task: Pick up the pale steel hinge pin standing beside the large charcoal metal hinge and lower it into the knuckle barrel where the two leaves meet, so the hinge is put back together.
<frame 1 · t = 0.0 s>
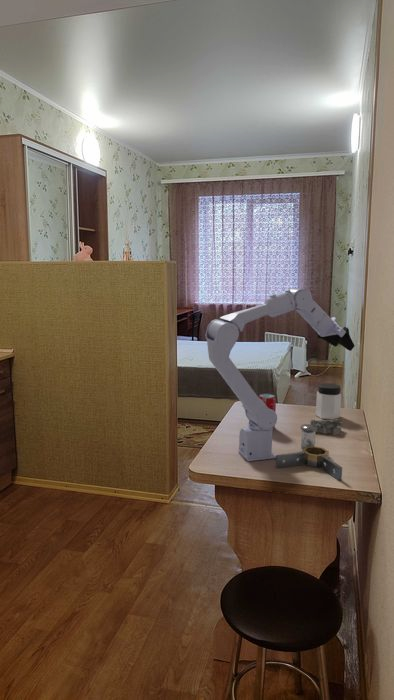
hand: (344, 346, 154), 32 cm above the table, tool tilted 50°, fingers open, 7 cm apart
soda can: (265, 428, 176), on the table
egg carton: (325, 431, 174), on the table
jar: (327, 416, 190), on the table
pin: (307, 448, 157), on the table
hinge: (314, 462, 146), on the table
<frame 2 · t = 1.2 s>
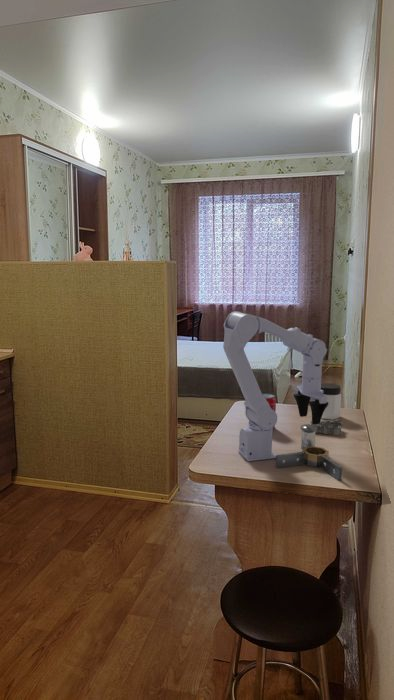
hand: (309, 419, 155), 9 cm above the table, tool pointing down, fingers open, 7 cm apart
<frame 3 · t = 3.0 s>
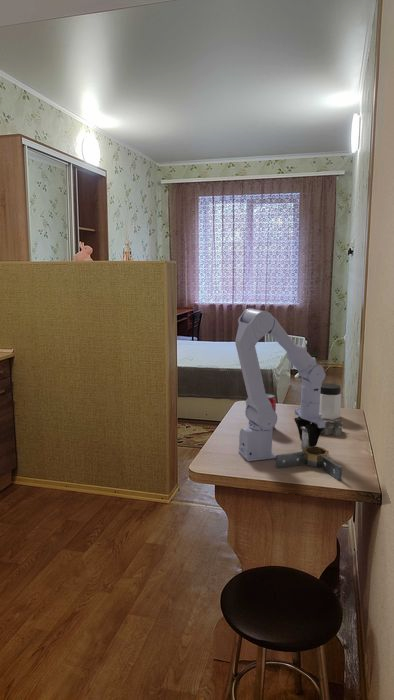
hand: (308, 443, 156), 2 cm above the table, tool pointing down, fingers closed on pin, 5 cm apart
pin: (307, 448, 157), on the table, touching gripper
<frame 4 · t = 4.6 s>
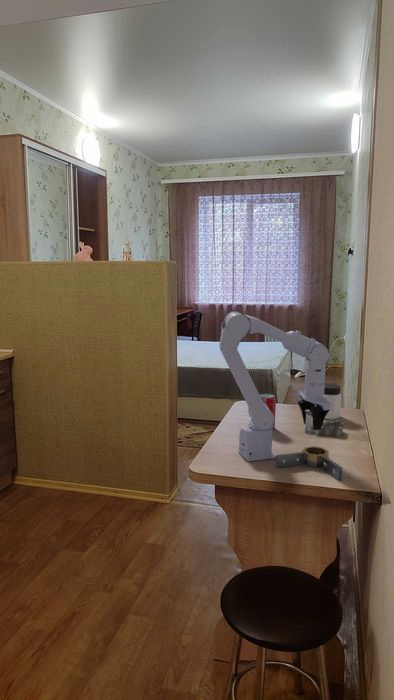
hand: (312, 426, 150), 9 cm above the table, tool pointing down, fingers closed on pin, 5 cm apart
pin: (311, 432, 151), point 7 cm above the table, touching gripper
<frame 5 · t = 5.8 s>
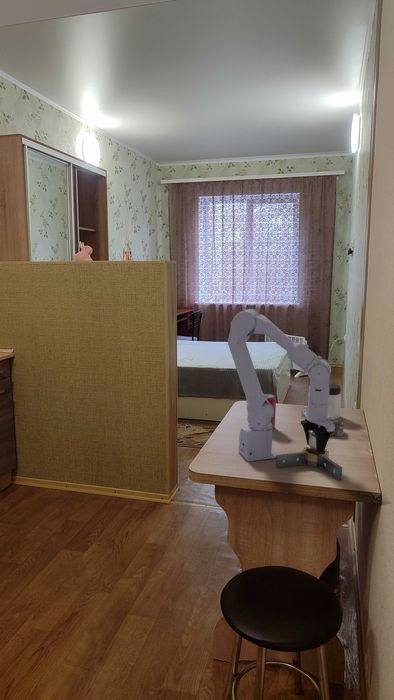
hand: (315, 447, 145), 5 cm above the table, tool pointing down, fingers closed on pin, 5 cm apart
pin: (314, 454, 146), point 2 cm above the table, touching gripper
when the fingers open (4 cm above the table, at t = 6.7 s): pin drops 2 cm, resting in hinge.
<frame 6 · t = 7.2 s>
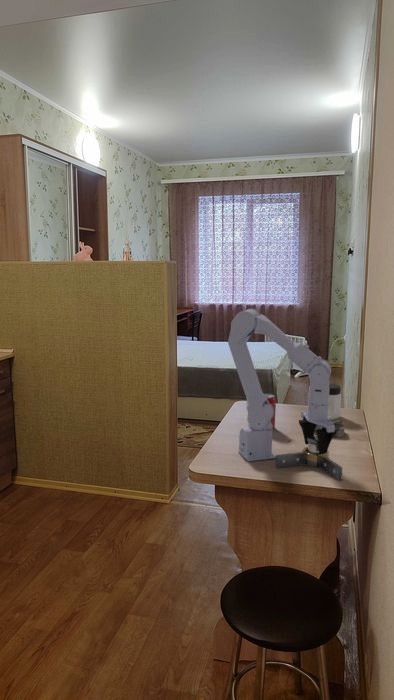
hand: (315, 448, 145), 4 cm above the table, tool pointing down, fingers open, 7 cm apart
pin: (314, 462, 146), resting in hinge
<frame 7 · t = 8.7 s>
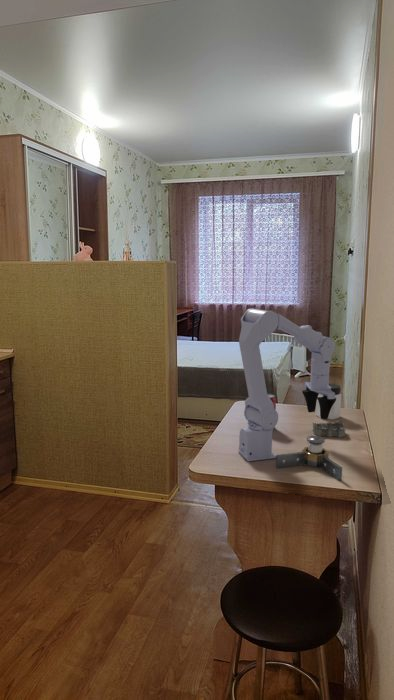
hand: (317, 415, 160), 9 cm above the table, tool pointing down, fingers open, 7 cm apart
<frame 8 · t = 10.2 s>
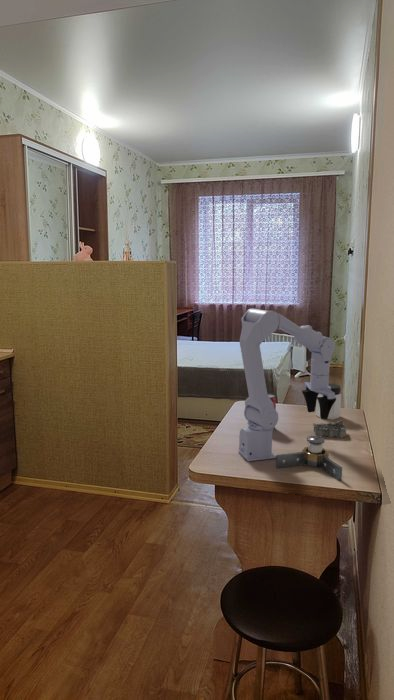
hand: (317, 415, 160), 9 cm above the table, tool pointing down, fingers open, 7 cm apart
at the end: pin 0.4 cm off-centre on the hinge, point 0.0 cm above the hinge's base; pin tilted 0°; the gripper is holding nothing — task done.
